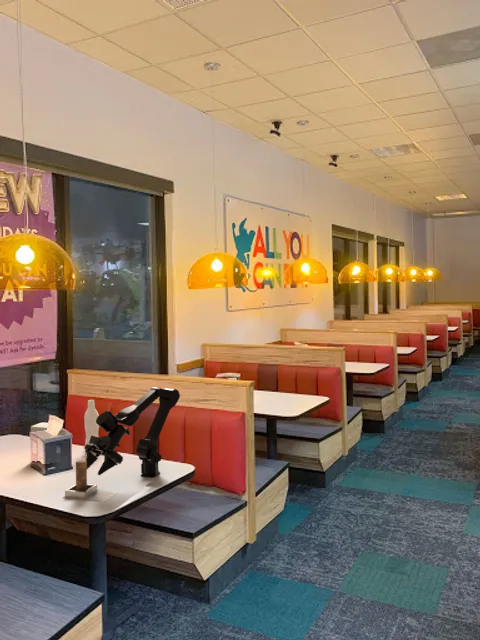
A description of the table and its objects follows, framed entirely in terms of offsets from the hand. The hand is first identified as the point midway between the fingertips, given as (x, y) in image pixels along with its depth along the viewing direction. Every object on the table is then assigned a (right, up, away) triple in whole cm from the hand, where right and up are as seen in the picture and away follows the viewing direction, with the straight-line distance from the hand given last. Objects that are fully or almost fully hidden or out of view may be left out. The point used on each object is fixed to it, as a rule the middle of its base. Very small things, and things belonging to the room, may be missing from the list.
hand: (91, 472), depth 220 cm
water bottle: (-16, -6, +63) cm, 65 cm away
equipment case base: (+1, -9, -5) cm, 10 cm away
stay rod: (-3, -7, -3) cm, 9 cm away
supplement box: (-34, -7, +47) cm, 59 cm away
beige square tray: (-3, -7, -3) cm, 9 cm away
